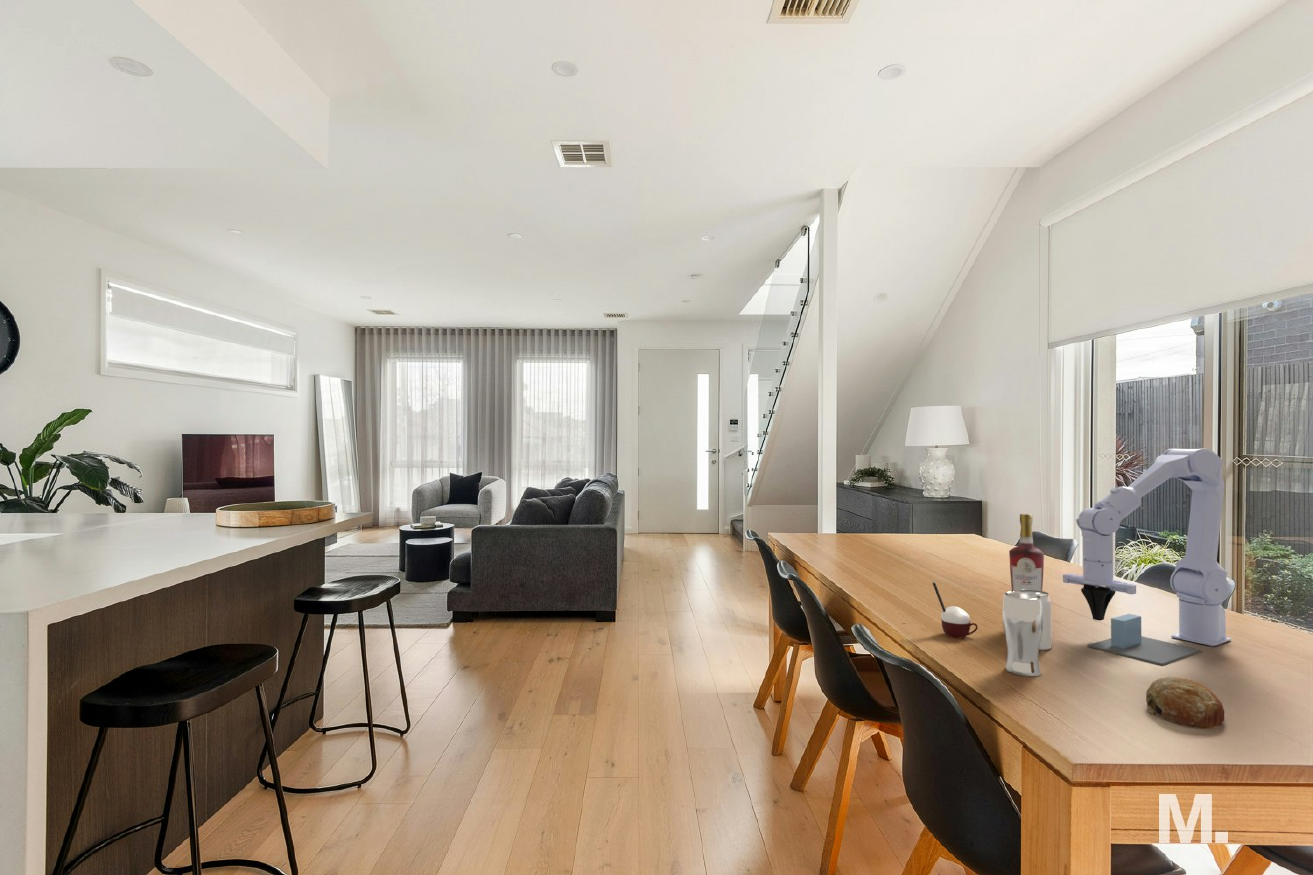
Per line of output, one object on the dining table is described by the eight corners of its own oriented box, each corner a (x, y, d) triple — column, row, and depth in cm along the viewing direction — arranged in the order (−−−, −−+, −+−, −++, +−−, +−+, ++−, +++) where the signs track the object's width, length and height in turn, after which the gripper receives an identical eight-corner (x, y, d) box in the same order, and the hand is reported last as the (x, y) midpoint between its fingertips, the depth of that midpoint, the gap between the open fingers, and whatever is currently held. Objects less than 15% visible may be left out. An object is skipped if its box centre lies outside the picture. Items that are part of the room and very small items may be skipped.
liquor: (1045, 628, 154) (1044, 513, 155) (1044, 636, 148) (1043, 516, 149) (1010, 624, 158) (1009, 512, 159) (1008, 631, 152) (1007, 514, 153)
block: (1128, 640, 144) (1128, 613, 144) (1141, 643, 142) (1141, 616, 142) (1110, 645, 140) (1110, 618, 140) (1123, 648, 138) (1123, 620, 138)
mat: (1128, 634, 150) (1128, 633, 150) (1201, 651, 137) (1201, 649, 137) (1087, 646, 141) (1087, 644, 141) (1162, 665, 128) (1162, 663, 129)
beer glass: (1038, 667, 127) (1038, 592, 127) (1047, 679, 121) (1047, 600, 121) (999, 663, 130) (999, 590, 130) (1006, 675, 123) (1006, 597, 123)
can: (1056, 651, 137) (1056, 596, 137) (1023, 649, 138) (1023, 594, 139) (1044, 642, 143) (1044, 589, 144) (1013, 640, 145) (1012, 588, 145)
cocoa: (979, 638, 148) (982, 587, 148) (967, 643, 144) (970, 590, 144) (939, 628, 155) (941, 579, 155) (927, 632, 151) (929, 581, 151)
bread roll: (1141, 725, 109) (1122, 684, 109) (1190, 698, 110) (1171, 656, 110) (1194, 753, 99) (1173, 707, 99) (1248, 722, 100) (1227, 677, 100)
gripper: (1055, 557, 151) (1055, 614, 150) (1124, 567, 138) (1125, 629, 138) (1071, 554, 154) (1072, 610, 154) (1140, 564, 141) (1141, 625, 141)
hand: (1098, 619), depth 146 cm, fingers closed
